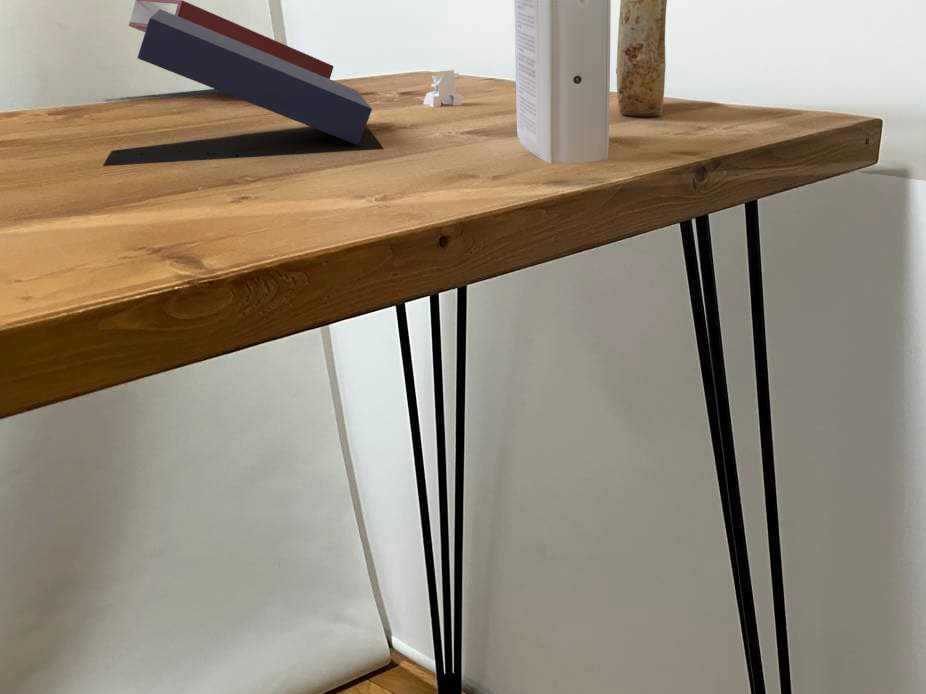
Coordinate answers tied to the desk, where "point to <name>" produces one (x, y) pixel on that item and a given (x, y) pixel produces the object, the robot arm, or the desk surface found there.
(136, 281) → the desk surface
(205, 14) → the burgundy book
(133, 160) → the mat front
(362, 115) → the navy book
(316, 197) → the desk surface
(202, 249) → the desk surface
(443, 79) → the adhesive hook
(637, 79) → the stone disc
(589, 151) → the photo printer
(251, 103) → the mat back
